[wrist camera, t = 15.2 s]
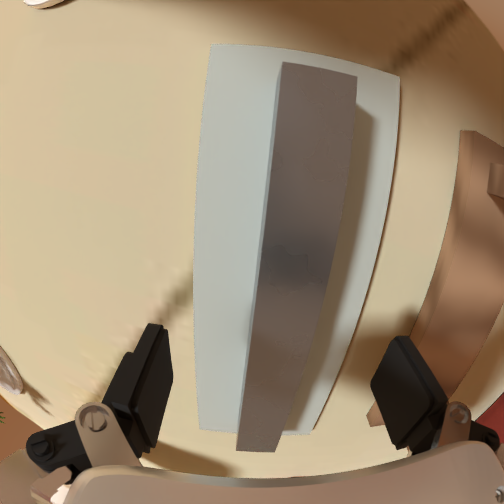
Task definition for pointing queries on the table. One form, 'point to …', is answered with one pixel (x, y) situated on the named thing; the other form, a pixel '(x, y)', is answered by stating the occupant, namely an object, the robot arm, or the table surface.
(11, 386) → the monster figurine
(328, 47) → the table surface
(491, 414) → the plant pot
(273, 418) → the rail
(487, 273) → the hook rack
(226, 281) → the mat
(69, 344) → the table surface
